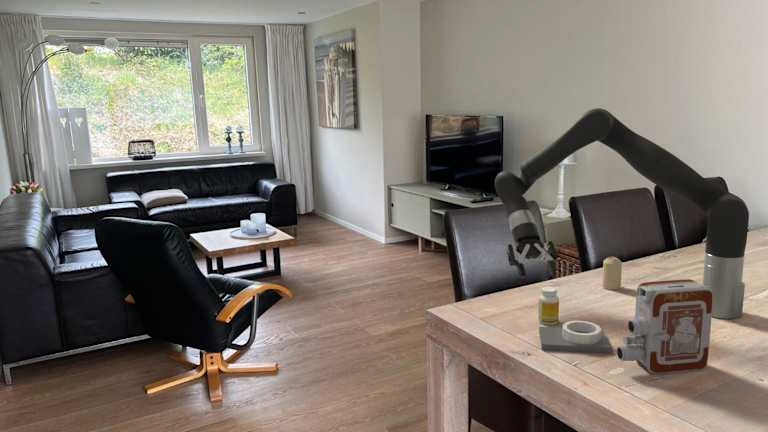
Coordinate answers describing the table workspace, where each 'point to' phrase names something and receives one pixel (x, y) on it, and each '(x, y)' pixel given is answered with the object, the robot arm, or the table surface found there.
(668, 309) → the cine camera
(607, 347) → the mount plate
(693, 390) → the table surface
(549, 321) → the supplement bottle
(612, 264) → the candle
